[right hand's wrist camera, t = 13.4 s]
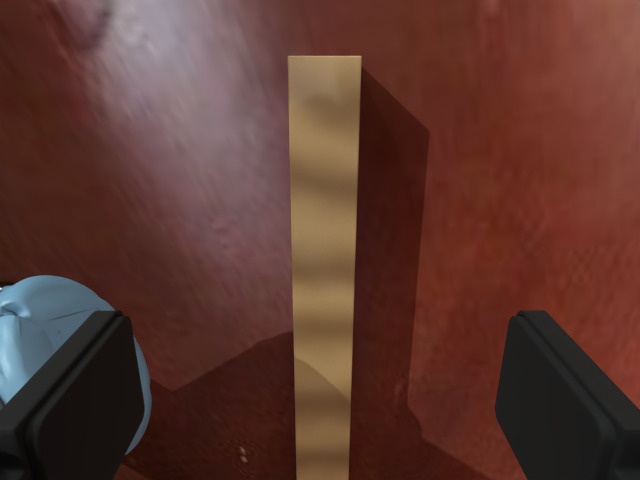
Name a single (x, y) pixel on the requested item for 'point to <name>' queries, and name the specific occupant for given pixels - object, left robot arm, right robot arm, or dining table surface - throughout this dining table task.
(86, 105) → the dining table surface
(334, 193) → the post
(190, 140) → the dining table surface
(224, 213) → the dining table surface
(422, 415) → the dining table surface
